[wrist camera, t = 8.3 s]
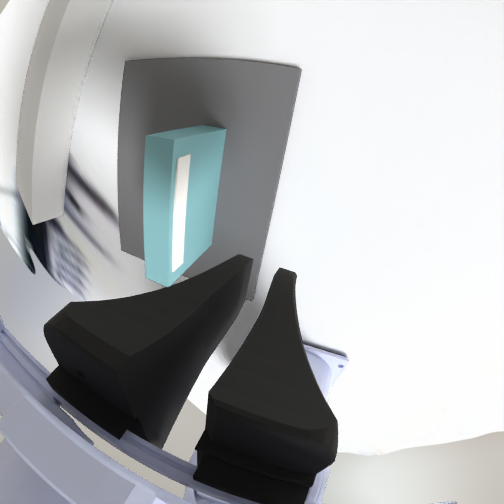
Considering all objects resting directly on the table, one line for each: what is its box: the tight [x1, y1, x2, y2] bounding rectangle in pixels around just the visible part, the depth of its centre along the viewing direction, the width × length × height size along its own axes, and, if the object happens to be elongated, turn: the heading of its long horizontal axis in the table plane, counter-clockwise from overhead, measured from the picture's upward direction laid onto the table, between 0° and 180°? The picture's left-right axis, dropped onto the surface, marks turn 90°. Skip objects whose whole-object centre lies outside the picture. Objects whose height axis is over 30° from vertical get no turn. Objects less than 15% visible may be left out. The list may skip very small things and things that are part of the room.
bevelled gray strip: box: [16, 0, 113, 225], centre depth 18 cm, size 34×5×10 cm
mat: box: [118, 58, 302, 301], centre depth 20 cm, size 18×14×1 cm
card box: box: [143, 125, 227, 287], centre depth 17 cm, size 9×2×6 cm, turn 170°
